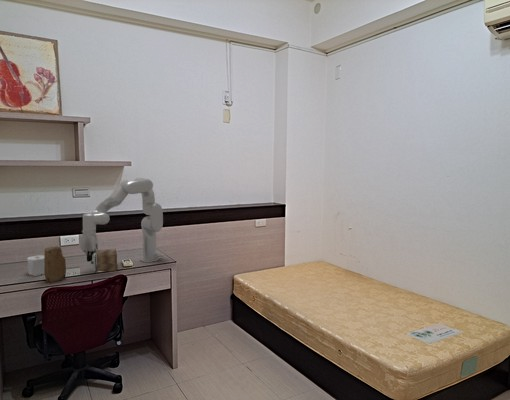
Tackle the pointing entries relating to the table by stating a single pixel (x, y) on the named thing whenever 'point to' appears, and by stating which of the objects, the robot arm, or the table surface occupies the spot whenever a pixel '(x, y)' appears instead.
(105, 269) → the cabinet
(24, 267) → the table surface
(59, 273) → the block
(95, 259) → the green rectangular block
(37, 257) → the toilet tissue
